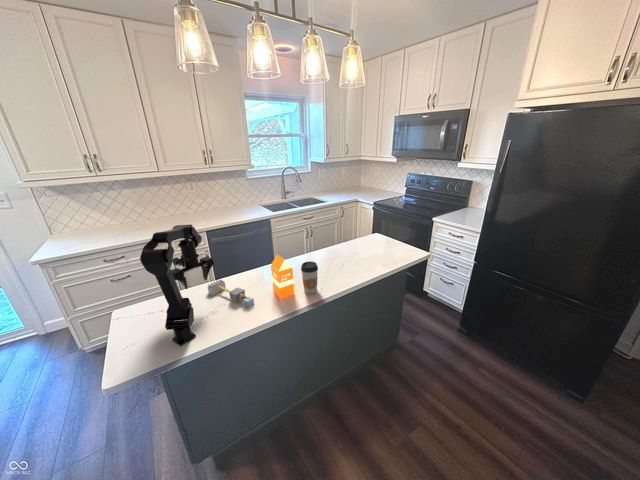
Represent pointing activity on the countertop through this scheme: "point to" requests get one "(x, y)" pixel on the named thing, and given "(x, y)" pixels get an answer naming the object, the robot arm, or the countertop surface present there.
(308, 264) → the coffee cup
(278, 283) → the orange juice
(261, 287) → the countertop surface
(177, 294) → the robot arm
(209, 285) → the cord rig
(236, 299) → the sleeve
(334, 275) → the countertop surface
